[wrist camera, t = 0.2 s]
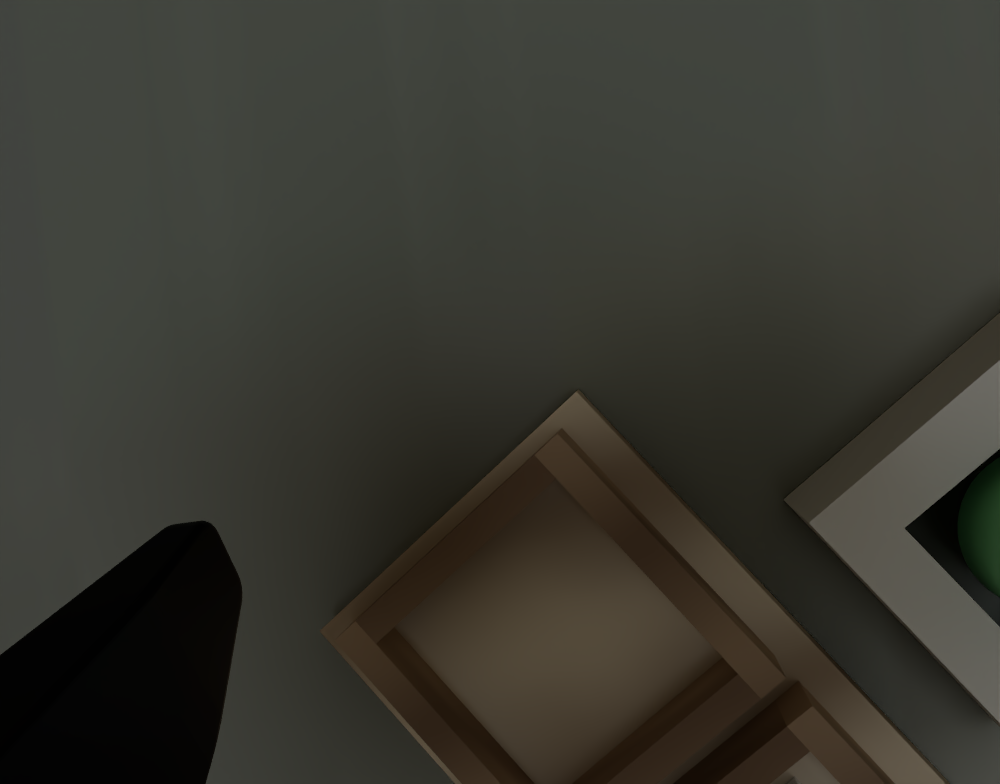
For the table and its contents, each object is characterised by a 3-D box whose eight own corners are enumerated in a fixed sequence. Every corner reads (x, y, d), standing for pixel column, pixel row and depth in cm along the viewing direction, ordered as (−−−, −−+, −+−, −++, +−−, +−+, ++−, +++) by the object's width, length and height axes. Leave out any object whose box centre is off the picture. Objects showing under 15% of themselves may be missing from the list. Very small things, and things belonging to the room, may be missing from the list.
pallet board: (1042, 881, 21) (1102, 957, 19) (756, 1090, 23) (774, 1188, 20) (578, 389, 22) (572, 394, 20) (334, 617, 24) (298, 650, 21)
